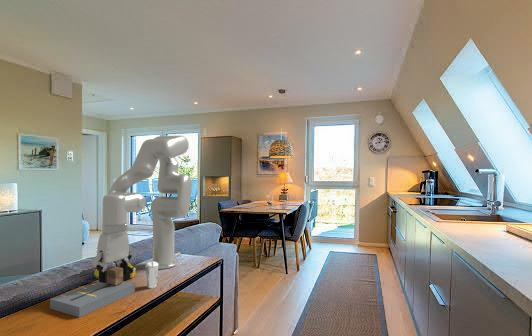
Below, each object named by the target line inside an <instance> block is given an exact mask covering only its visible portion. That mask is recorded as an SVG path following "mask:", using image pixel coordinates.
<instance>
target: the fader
mask: <svg viewBox="0 0 532 336" xmlns="http://www.w3.org/2000/svg"><path fill="white" fill-rule="evenodd" d="M105 271H107V282H106V283H108V284H112V285H117V284H120V283H122V282H123V268H120V266H113V265H111V266H109V267H108V266H107V268H106V270H105Z"/></svg>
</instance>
